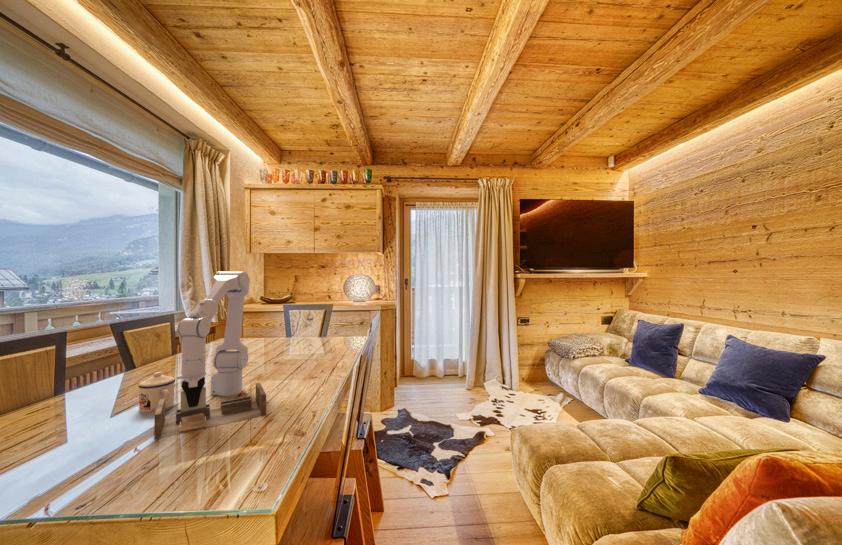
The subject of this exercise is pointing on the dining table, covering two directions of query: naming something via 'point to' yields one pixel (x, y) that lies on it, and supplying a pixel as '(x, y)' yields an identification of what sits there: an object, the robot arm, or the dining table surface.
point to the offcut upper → (192, 419)
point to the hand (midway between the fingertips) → (193, 405)
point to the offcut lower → (192, 426)
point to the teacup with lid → (156, 392)
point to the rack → (211, 414)
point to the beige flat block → (200, 405)
